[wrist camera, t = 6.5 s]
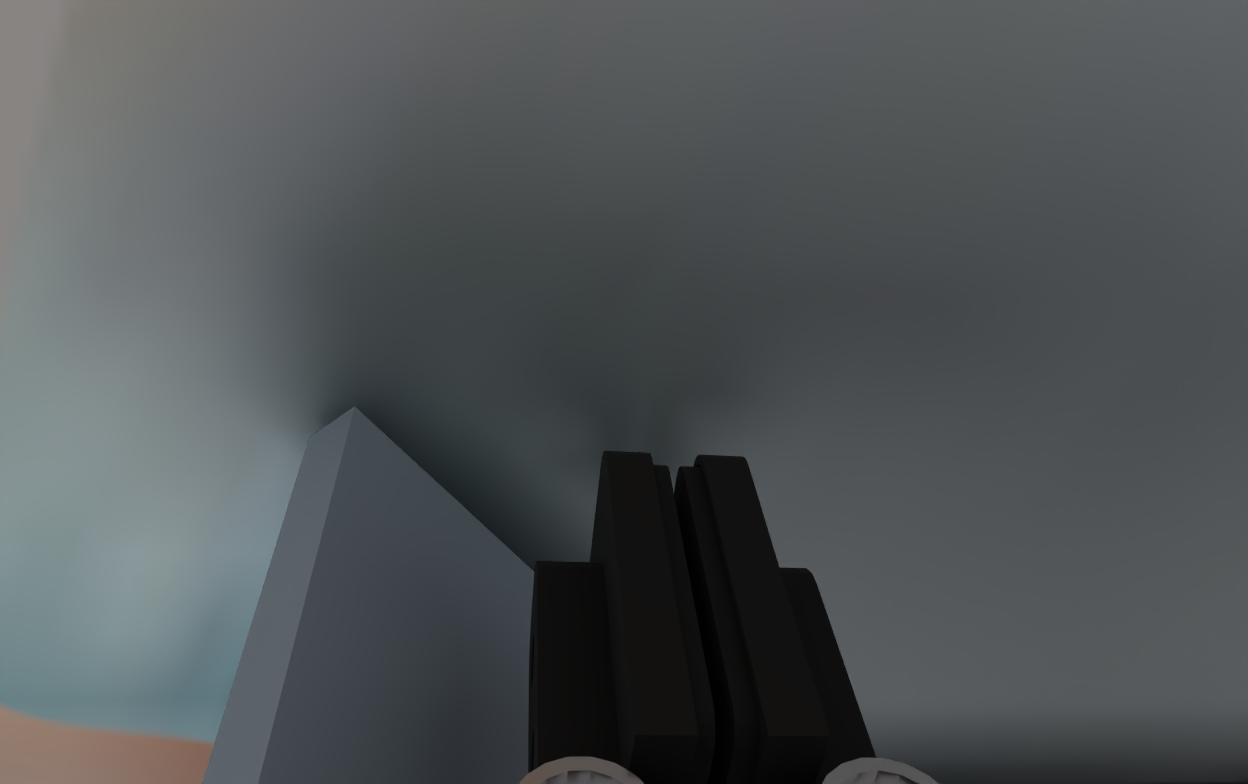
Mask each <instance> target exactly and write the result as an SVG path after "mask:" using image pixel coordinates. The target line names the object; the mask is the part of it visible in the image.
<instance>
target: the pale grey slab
mask: <svg viewBox="0 0 1248 784" xmlns="http://www.w3.org/2000/svg"><path fill="white" fill-rule="evenodd" d="M533 583H534V571H533V570H532V569H531V568H530V567H529V566H527V565H526V564H525V563H524V562H523V561H522V560H521V559H520V558H519V557H518V556H517V555H516V554H514V553H513V552H512V551H511V550H510V549H509V548H508V547H507V546H506V545H505V544H504V543H502V542H501V541H500V540H499V539H498V538H497V537H496V536H495V535H494V534H493V533H492V532H491V531H489V530H488V529H487V528H486V527H485V526H484V525H483V524H482V523H481V522H480V521H479V520H478V519H476V518H475V517H474V516H473V515H472V514H471V513H470V512H469V511H468V510H467V509H466V508H465V507H463V506H462V505H461V504H460V503H459V502H458V501H457V500H456V499H455V498H454V497H453V496H451V495H450V494H449V493H448V492H447V491H446V490H445V489H444V488H443V487H442V486H441V485H440V484H438V483H437V482H436V481H435V480H434V479H433V478H432V477H431V476H430V475H429V474H428V473H427V472H425V471H424V470H423V469H422V468H421V467H420V466H419V465H418V464H417V463H416V462H415V461H414V460H412V459H411V458H410V457H409V456H408V455H407V454H406V453H405V452H404V451H403V450H402V449H400V448H399V447H398V446H397V445H396V444H395V443H394V442H393V441H392V440H391V439H390V438H389V437H387V436H386V435H385V434H384V433H383V432H382V431H381V430H380V429H379V428H378V427H377V426H376V425H374V424H373V423H372V422H371V421H370V420H369V419H368V418H367V417H366V416H365V415H364V414H363V413H361V412H360V411H359V410H358V409H357V408H356V407H355V406H354V407H353V408H351V409H350V410H348V411H347V412H345V413H344V414H343V415H341V416H340V417H338V418H337V419H335V420H334V421H333V422H331V423H330V424H328V425H327V426H325V427H324V428H322V429H321V430H320V431H318V432H317V433H315V434H314V435H312V436H311V437H310V438H309V440H308V443H307V447H306V450H305V453H304V456H303V459H302V463H301V466H300V469H299V472H298V476H297V479H296V482H295V485H294V489H293V492H292V495H291V498H290V501H289V505H288V508H287V511H286V514H285V518H284V521H283V524H282V527H281V530H280V534H279V537H278V540H277V543H276V547H275V550H274V553H273V556H272V559H271V563H270V566H269V569H268V572H267V576H266V579H265V582H264V585H263V589H262V592H261V595H260V598H259V601H258V605H257V608H256V611H255V614H254V618H253V621H252V624H251V627H250V630H249V634H248V637H247V640H246V643H245V647H244V650H243V653H242V656H241V660H240V663H239V666H238V669H237V672H236V676H235V679H234V682H233V685H232V689H231V692H230V695H229V698H228V701H227V705H226V708H225V711H224V714H223V718H222V721H221V724H220V727H219V730H218V734H217V737H216V740H215V743H214V747H213V750H212V753H211V756H210V760H209V763H208V766H207V769H206V772H205V776H204V779H203V782H202V784H519V783H520V781H521V780H522V779H523V778H524V777H525V776H526V775H527V774H528V718H529V650H530V627H531V610H532V597H533Z"/></svg>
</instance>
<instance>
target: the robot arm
mask: <svg viewBox="0 0 1248 784" xmlns="http://www.w3.org/2000/svg"><path fill="white" fill-rule="evenodd" d="M519 784H938V783H937V782H936V781H935V780H934V779H933V778H931V777H930V776H929V775H927V774H925V773H923V772H921V771H919V770H917V769H915V768H913V767H912V766H910V765H908V764H905V763H901V762H897V761H894V760H890V759H886V758H876V756H875V753H874V750H873V747H872V744H871V741H870V738H869V735H868V732H867V729H866V726H865V724H864V721H863V718H862V715H861V712H860V709H859V706H858V703H857V700H856V697H855V694H854V691H853V689H852V686H851V683H850V680H849V677H848V674H847V671H846V668H845V665H844V662H843V659H842V656H841V653H840V651H839V648H838V645H837V642H836V639H835V636H834V633H833V630H832V627H831V624H830V621H829V618H828V616H827V613H826V610H825V607H824V604H823V601H822V598H821V595H820V592H819V589H818V586H817V583H816V581H815V579H814V577H813V575H812V573H811V572H810V571H809V570H808V569H807V568H779V565H778V561H777V558H776V555H775V552H774V548H773V545H772V542H771V538H770V535H769V532H768V528H767V525H766V522H765V519H764V515H763V512H762V509H761V505H760V502H759V499H758V496H757V492H756V489H755V486H754V482H753V479H752V476H751V472H750V469H749V466H748V463H747V461H746V458H744V457H740V456H715V455H698V456H697V457H696V460H695V462H694V466H693V467H687V466H681V467H679V470H678V473H677V478H676V484H675V490H674V493H673V488H672V483H671V477H670V472H669V468H668V466H661V465H653V461H652V457H651V454H650V453H642V452H617V451H604V452H603V456H602V462H601V469H600V478H599V487H598V495H597V504H596V513H595V521H594V530H593V539H592V547H591V556H590V563H589V562H553V561H536V563H535V572H534V583H533V597H532V610H531V627H530V650H529V718H528V774H527V775H526V776H525V777H524V778H523V779H522V780H521V781H520V783H519Z"/></svg>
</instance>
